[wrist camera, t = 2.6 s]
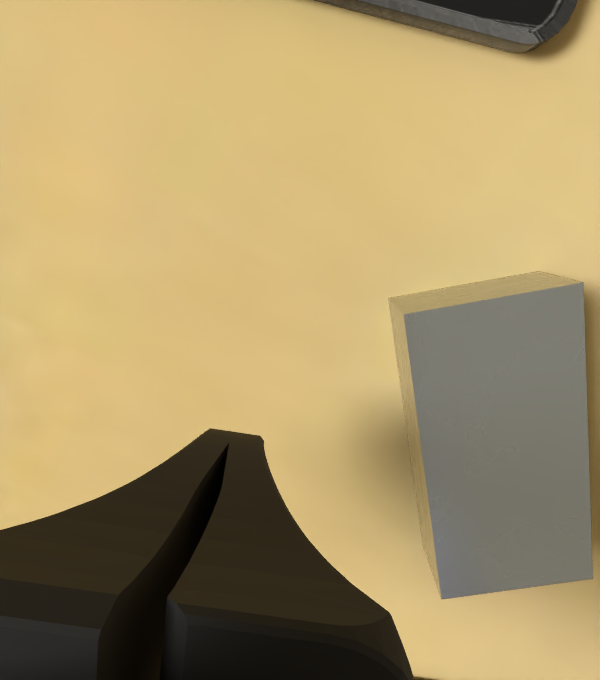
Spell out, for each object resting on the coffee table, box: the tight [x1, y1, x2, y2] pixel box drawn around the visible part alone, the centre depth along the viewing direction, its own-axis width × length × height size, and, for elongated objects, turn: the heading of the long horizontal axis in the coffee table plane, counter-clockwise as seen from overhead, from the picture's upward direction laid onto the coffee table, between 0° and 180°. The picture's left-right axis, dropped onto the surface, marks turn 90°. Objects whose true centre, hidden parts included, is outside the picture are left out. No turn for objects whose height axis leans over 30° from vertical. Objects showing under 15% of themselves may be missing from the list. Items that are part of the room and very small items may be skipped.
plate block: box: [388, 271, 593, 599], centre depth 16 cm, size 10×5×3 cm, turn 11°
